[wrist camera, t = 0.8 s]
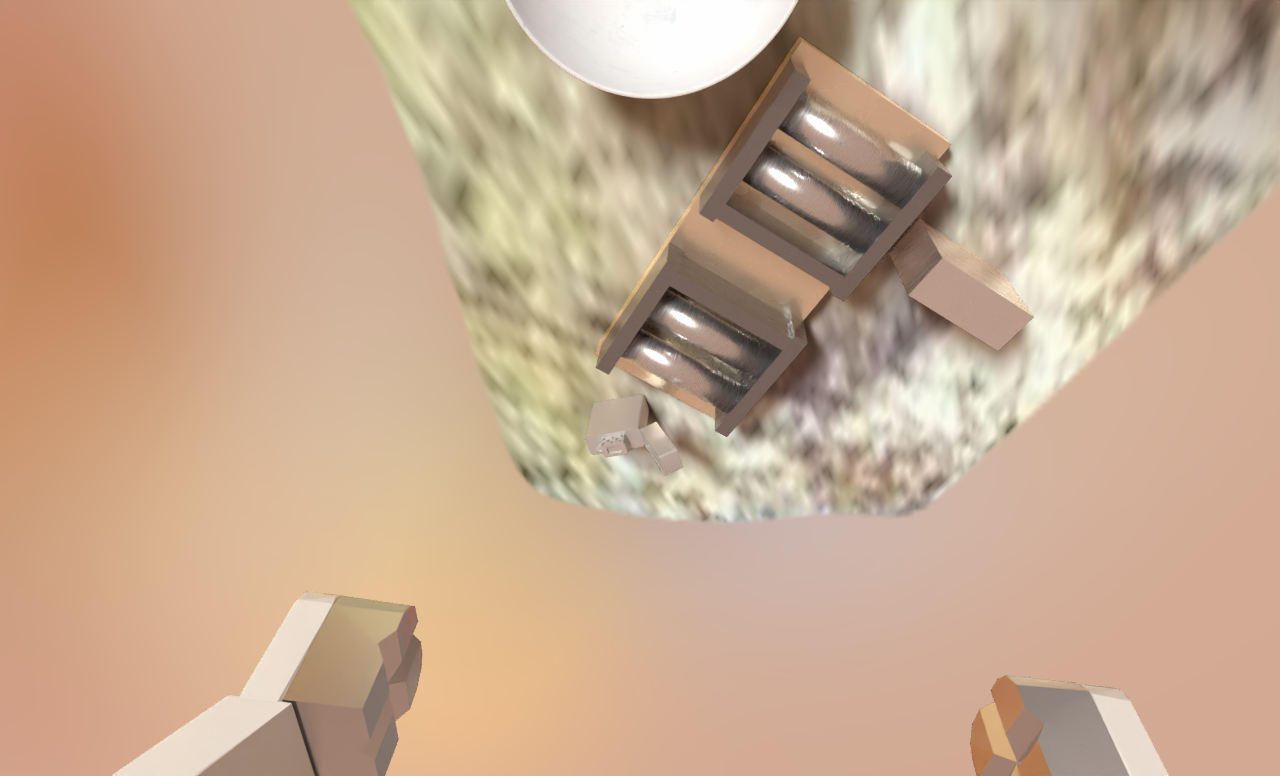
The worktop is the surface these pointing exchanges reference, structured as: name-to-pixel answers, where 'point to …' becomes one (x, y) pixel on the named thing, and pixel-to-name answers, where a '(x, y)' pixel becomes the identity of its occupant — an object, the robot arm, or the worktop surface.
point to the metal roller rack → (775, 236)
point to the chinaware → (651, 40)
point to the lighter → (629, 432)
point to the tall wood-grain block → (959, 285)
